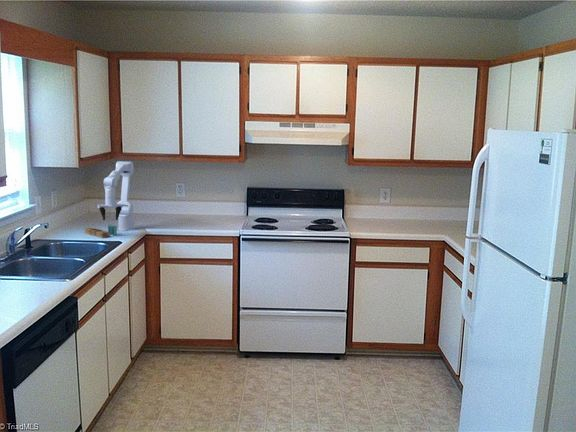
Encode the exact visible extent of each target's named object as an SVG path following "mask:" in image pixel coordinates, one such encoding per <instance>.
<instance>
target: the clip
mask: <svg viewBox="0 0 576 432" xmlns="http://www.w3.org/2000/svg"><path fill="white" fill-rule="evenodd" d="M107 228H108V229H107V232H110V236H111V235H112V237H113V236H117V235H118V233H117V232H118V231H117V228H118V226H117V225H115V224H108V225H107Z"/></svg>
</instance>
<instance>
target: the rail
mask: <svg viewBox="0 0 576 432" xmlns="http://www.w3.org/2000/svg"><path fill="white" fill-rule="evenodd" d="M83 229H84V230H83V231H84V234H86V235H90V236H93V237H96V238H97V237H98V238H101V239H104V238H110V236H111V235H110V232H108V230H107V231H106V230H103V229H100V228H96V227H85V228H83Z"/></svg>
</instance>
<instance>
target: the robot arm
mask: <svg viewBox="0 0 576 432" xmlns="http://www.w3.org/2000/svg"><path fill="white" fill-rule="evenodd" d="M133 175H134V162H133V161H120V160H117V162H116V163H115V170H112V171H111V172H110V174H109V175H107V177H106V176H105V178H104V179H103V187H104V191H105V194H104V195H105V197H104V198H105V200H104V201H105V203H104V204H97V208H98V210H99V212H100V214H101V217H102V220H103V221H105V220H106V209H111V208H113V209H114V210H115V211H114V212H115V213H114V214H115V220H117V221H118V222H117V223H118V227H117V230H118V231H121V232H124V231H131V230H136V228H135V218H134V216H133V213H134V209H133V206H134V205H133V203H131V202H130V201H129V198H130V189H131V188H130V187H131V178H132V176H133ZM121 176H122V179H121V191H120V193H121V194H120V201H117V203H116V187H117V185H118V182H119V179H120V178H121Z"/></svg>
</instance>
